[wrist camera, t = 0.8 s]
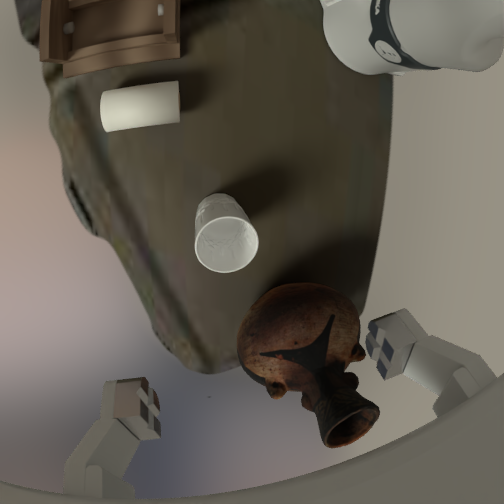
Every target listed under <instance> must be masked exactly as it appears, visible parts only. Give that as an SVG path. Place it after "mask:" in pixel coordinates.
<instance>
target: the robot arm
mask: <svg viewBox="0 0 504 504" xmlns="http://www.w3.org/2000/svg"><path fill="white" fill-rule="evenodd" d="M320 1H321V4H322V7H323V9H324V19H323V27H324V33H325V36H326V39H327V42H328V44H329V46H330V48H331V49H332V51H333V52H334V54H335V55H336V56H337V57H338V59H339V60H340V61H341V62H343V63H344V64H345V65H346V66H348V67H349V68H351V69H353V70H355V71H357V72H360V73H363V74H369V75H375V74H381V73H389V74H393V75H397V76H401V75H405V74H406V72H408V71H422V70H437V69H441V68H450V69H458V70H466V71H472V72H480V71H484V70H486V69H488V68H490V67H491V66H493V65H494V64H495V63H496V62H497V61H498V60H499V58H500V57H501V54H502V51H503V47H504V0H320ZM368 329H369V331H370V332H369V333H368V334H367V336H366V341H365V343H366V349H367V351H368V354H369V356H370V357H371V359H373V360H375V361H377V367H376V368H377V369H378V371H379V373H380V374H381V376H382V377H383V379H384V380H386V379H389V378H392V377H394V376H396V375H399V374H401V373H403V374H404V375H406V376H407V377H409V378H411V379H412V380H414V381H416V382H417V383H419V384H420V385H422V386H424V387H425V388H427V389H429V390H430V391H432V392H434V393H435V394H437V395H439V397H438V399H437V400H436V402H435V403H434V405H433V410H434V412H435V413H436V415H437V417H438V418H436V419H435V420H433V421H431V422H429V423H427V424H426V425H424V426H422V427H420V428H418V429H416V430H414V431H412V432H410V433H409V434H407V435H405V436H403V437H401V438H398V439H396V440H394V441H392V442H390V443H388V444H386V445H383V446H381V447H379V448H377V449H374V450H372V451H370V452H367V453H365V454H363V455H360V456H357V457H355V458H352V459H350V460H347V461H344V462H342V463H339V464H336V465H333V466H330V467H328V468H324V469H322V470H318V471H315V472H312V473H309V474H306V475H302V476H298V477H295V478H291V479H287V480H283V481H279V482H275V483H272V484H267V485H262V486H258V487H253V488H248V489H242V490H237V491H231V492H225V493H218V494H210V495H203V496H193V497H181V498H165V499H135V492H134V487H133V486H132V485H130V484H128V483H127V482H125V481H123V480H122V477H123V475H124V473H125V471H126V469H127V467H128V465H129V463H130V461H131V459H132V457H133V455H134V453H135V451H136V449H137V447H138V445H139V443H140V440H149V439H157V438H161V427H160V422H159V420H158V419H157V418H156V417H157V416H158V414H159V413H160V405H159V401H158V397H157V394H156V392H155V391H154V390H153V389H152V388H150V387H148V384H149V383H148V381H147V379H146V378H145V377H140V378H132V379H123V380H114V381H106V382H105V384H104V386H103V394H102V403H101V412H100V420H96V421H95V422H94V424H93V425H92V426H91V428H90V429H89V431H88V432H87V433H86V435H85V436H84V437H83V439H82V440H81V442H80V443H79V444H78V446H77V447H76V448H75V450H74V451H73V453H72V454H71V455H70V457H69V458H68V460H67V461H66V462H65V471H64V488H63V494H60V493H54V492H48V491H42V490H37V489H32V488H27V487H23V486H18V485H14V484H11V483H7V482H3V481H0V504H504V373H503V374H502V375H501V376H499V377H498V378H497V377H496V376H495V374H494V373H493V372H492V370H491V369H490V368H489V367H488V365H487V364H486V363H485V361H484V360H483V359H482V357H481V356H480V355H478V354H476V353H473V352H471V351H468V350H466V349H464V348H461V347H459V346H456V345H454V344H452V343H449V342H447V341H445V340H442V339H440V338H438V337H435V336H433V335H431V336H428V334H427V333H426V332H425V331H424V330H423V328H422V327H421V326H420V325H419V323H418V322H417V321H416V320H415V318H414V317H413V316H412V315H411V313H410V312H409V311H408V310H407V309H405V308H404V309H401V310H398V311H396V312H393V313H390V314H387V315H384V316H382V317H379V318H376V319H374V320H371V321H370V322H369V324H368Z"/></svg>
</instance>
